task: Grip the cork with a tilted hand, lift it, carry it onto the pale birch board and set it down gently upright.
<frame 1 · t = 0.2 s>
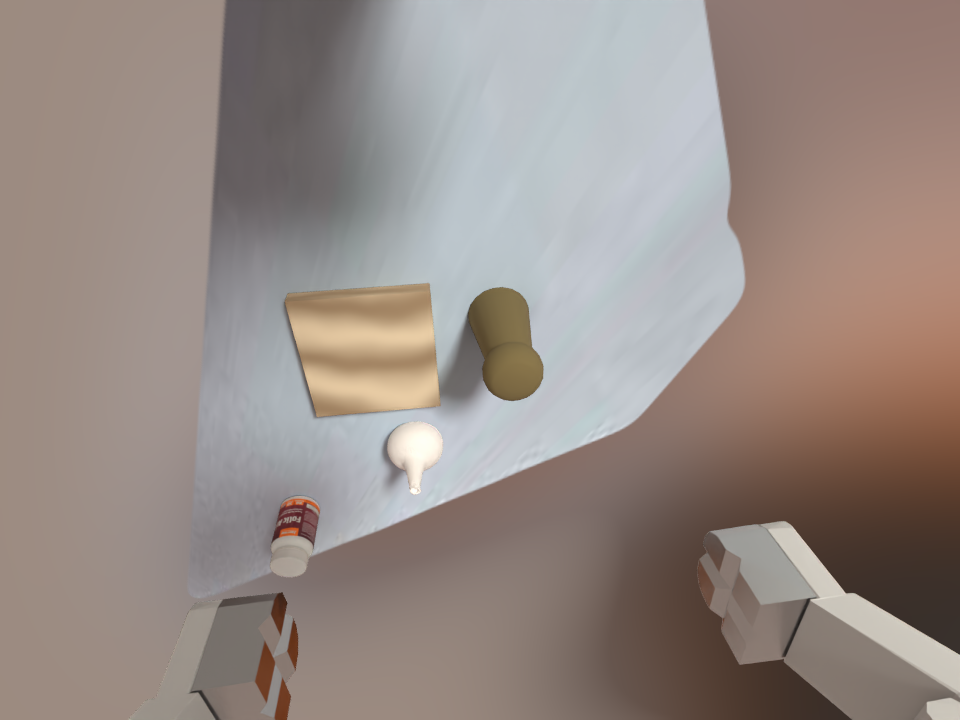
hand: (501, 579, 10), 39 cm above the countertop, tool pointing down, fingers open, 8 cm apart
garlic bulb: (415, 436, 62), on the countertop
birch board: (370, 349, 54), on the countertop
cork: (498, 313, 53), on the countertop
pill bottle: (300, 505, 67), on the countertop
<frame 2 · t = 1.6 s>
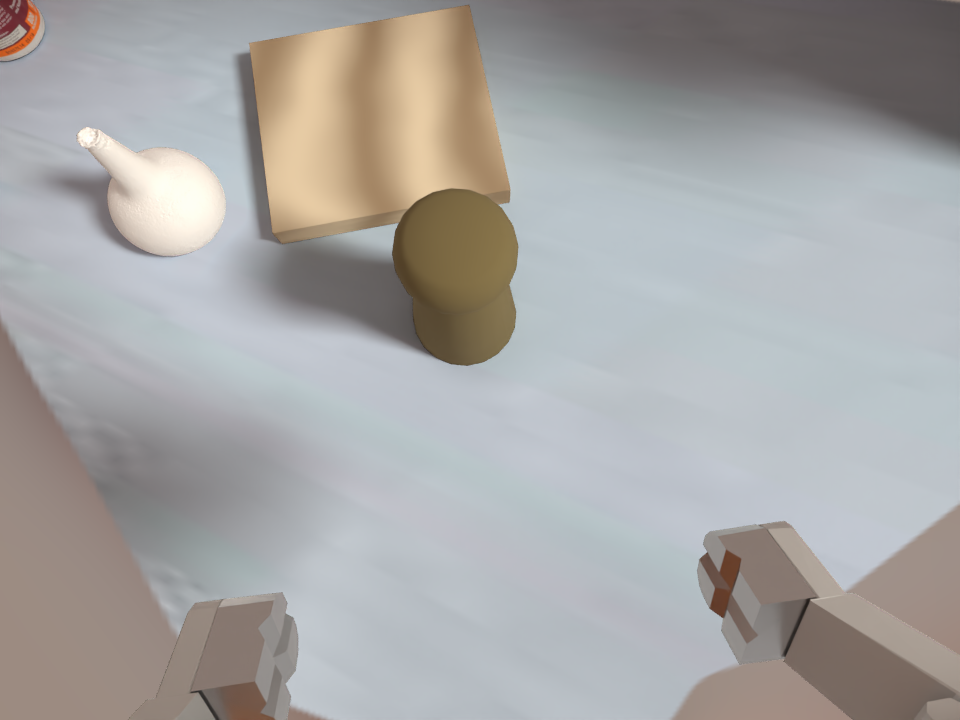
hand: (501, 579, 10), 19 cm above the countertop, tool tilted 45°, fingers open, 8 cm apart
garlic bulb: (184, 215, 33), on the countertop
birch board: (380, 129, 34), on the countertop
cork: (464, 316, 32), on the countertop
pill bottle: (14, 35, 36), on the countertop
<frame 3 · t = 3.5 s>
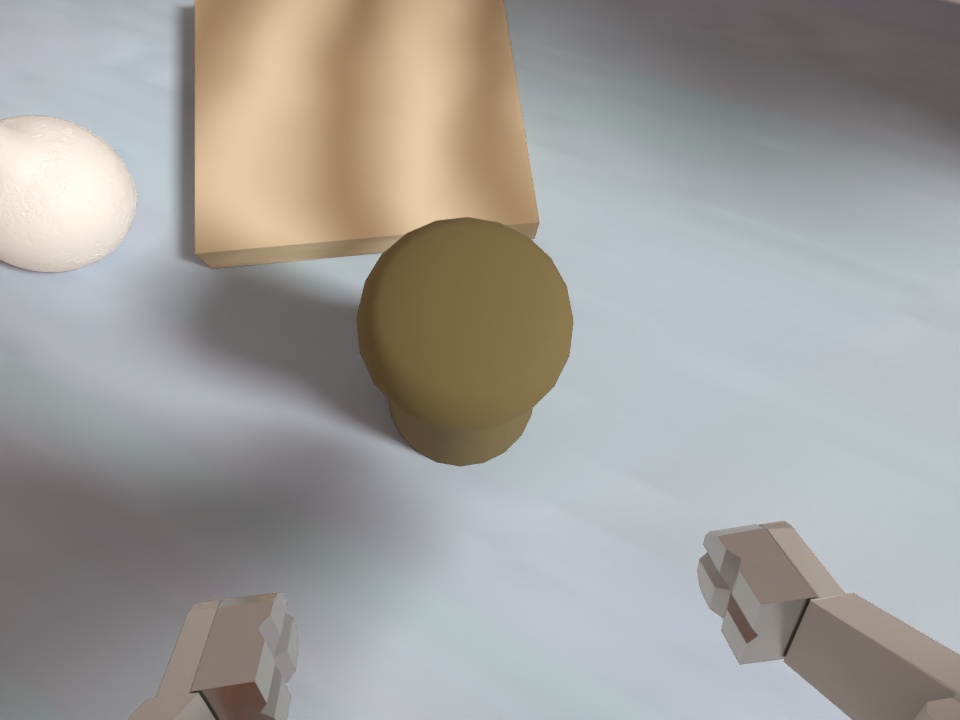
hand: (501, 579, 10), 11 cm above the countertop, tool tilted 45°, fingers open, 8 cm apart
garlic bulb: (76, 215, 23), on the countertop
birch board: (365, 124, 25), on the countertop
cork: (461, 392, 22), on the countertop
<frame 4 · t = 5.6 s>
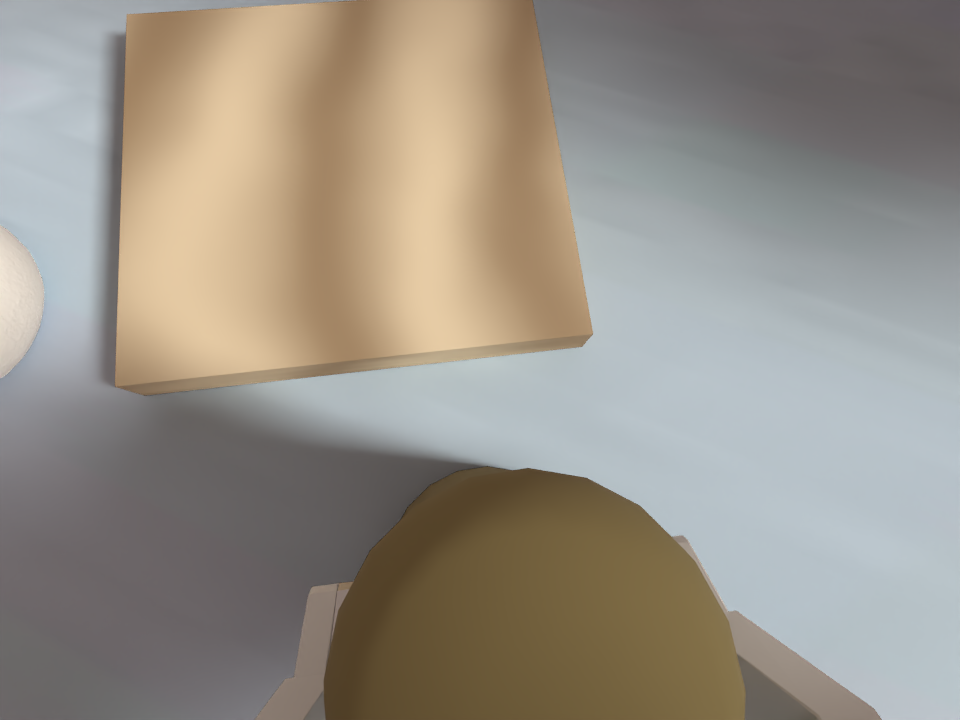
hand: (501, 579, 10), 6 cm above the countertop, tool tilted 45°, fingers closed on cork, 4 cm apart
birch board: (355, 190, 19), on the countertop
cork: (487, 568, 16), on the countertop, touching gripper
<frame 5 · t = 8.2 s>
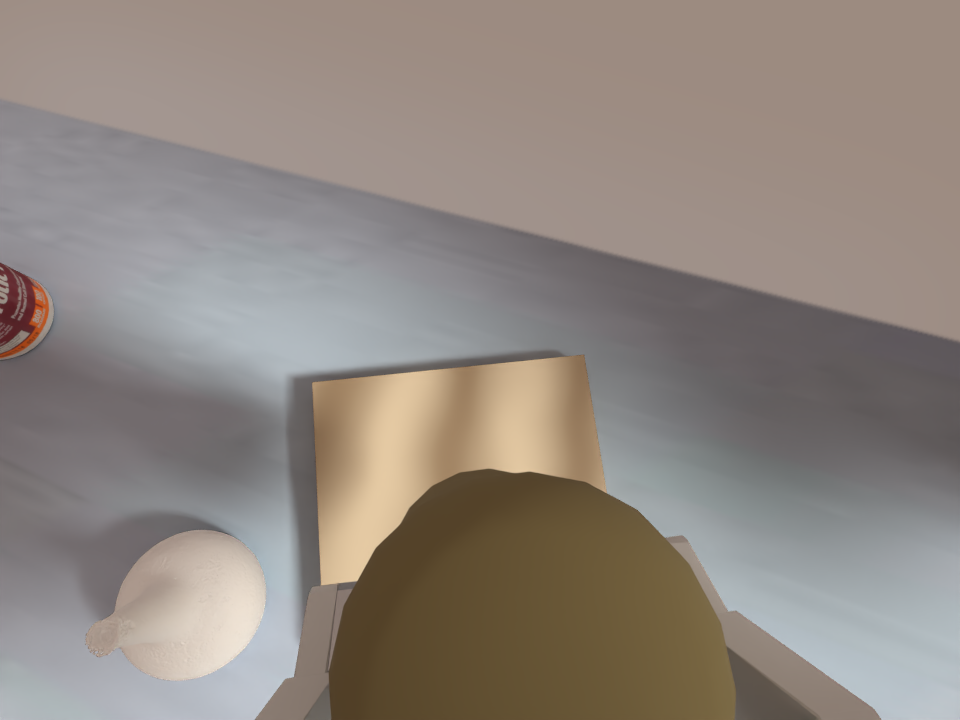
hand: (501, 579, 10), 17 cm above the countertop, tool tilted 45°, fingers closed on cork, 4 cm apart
garlic bulb: (209, 595, 26), on the countertop
birch board: (463, 497, 27), on the countertop
cork: (486, 568, 16), point 11 cm above the countertop, touching gripper
pill bottle: (13, 319, 29), on the countertop
when the fingers open (9 cm above the countertop, at t = 10.8 s): cork drops 1 cm, resting on birch board.
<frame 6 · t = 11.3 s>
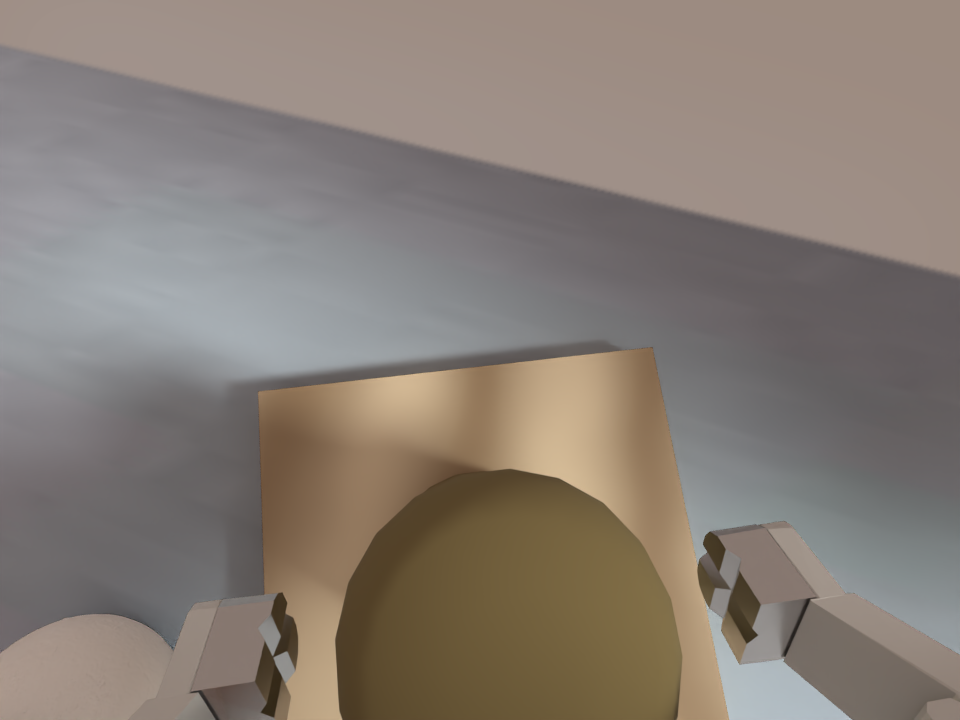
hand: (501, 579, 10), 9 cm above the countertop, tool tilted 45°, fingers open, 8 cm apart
garlic bulb: (106, 709, 18), on the countertop
birch board: (481, 556, 19), on the countertop
cork: (480, 565, 18), point 1 cm above the countertop, touching birch board
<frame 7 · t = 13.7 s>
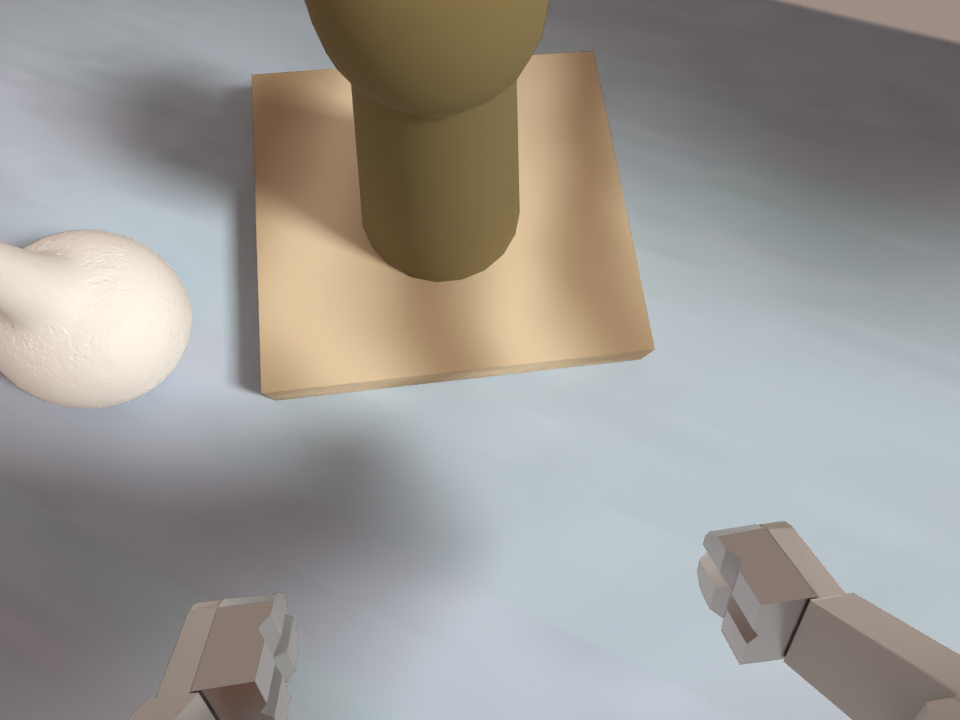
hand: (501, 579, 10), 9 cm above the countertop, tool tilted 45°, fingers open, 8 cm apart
garlic bulb: (122, 332, 21), on the countertop
birch board: (444, 224, 22), on the countertop
cork: (440, 210, 21), point 1 cm above the countertop, touching birch board
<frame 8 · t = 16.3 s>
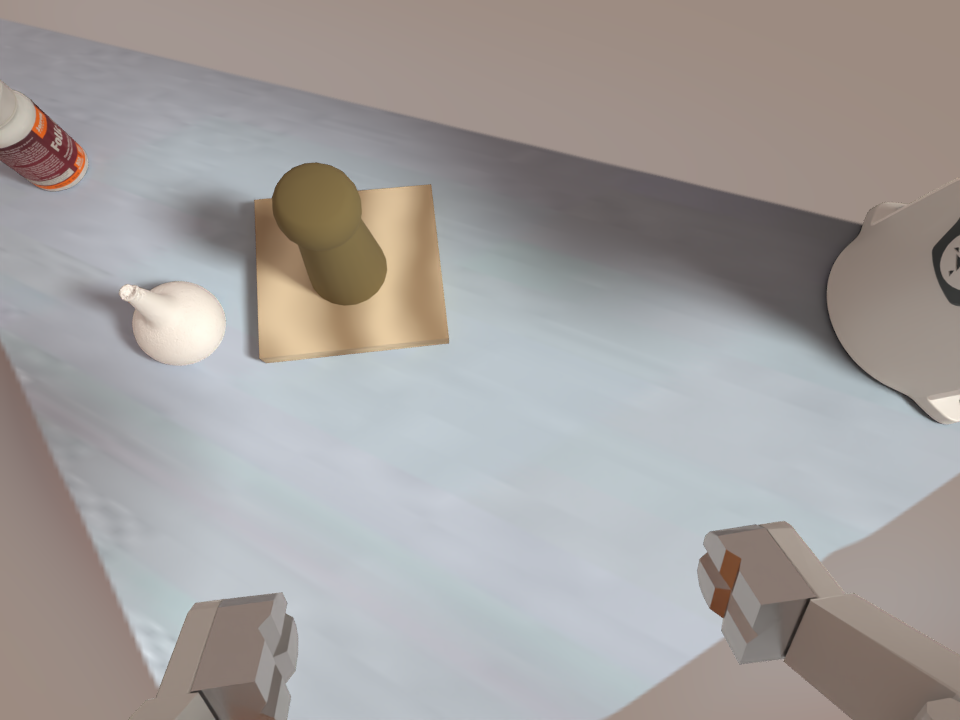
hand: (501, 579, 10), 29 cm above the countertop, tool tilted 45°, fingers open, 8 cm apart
garlic bulb: (190, 329, 41), on the countertop
birch board: (352, 274, 43), on the countertop
cork: (348, 269, 41), point 1 cm above the countertop, touching birch board
pill bottle: (62, 168, 44), on the countertop
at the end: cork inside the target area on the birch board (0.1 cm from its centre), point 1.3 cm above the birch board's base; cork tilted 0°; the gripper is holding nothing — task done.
